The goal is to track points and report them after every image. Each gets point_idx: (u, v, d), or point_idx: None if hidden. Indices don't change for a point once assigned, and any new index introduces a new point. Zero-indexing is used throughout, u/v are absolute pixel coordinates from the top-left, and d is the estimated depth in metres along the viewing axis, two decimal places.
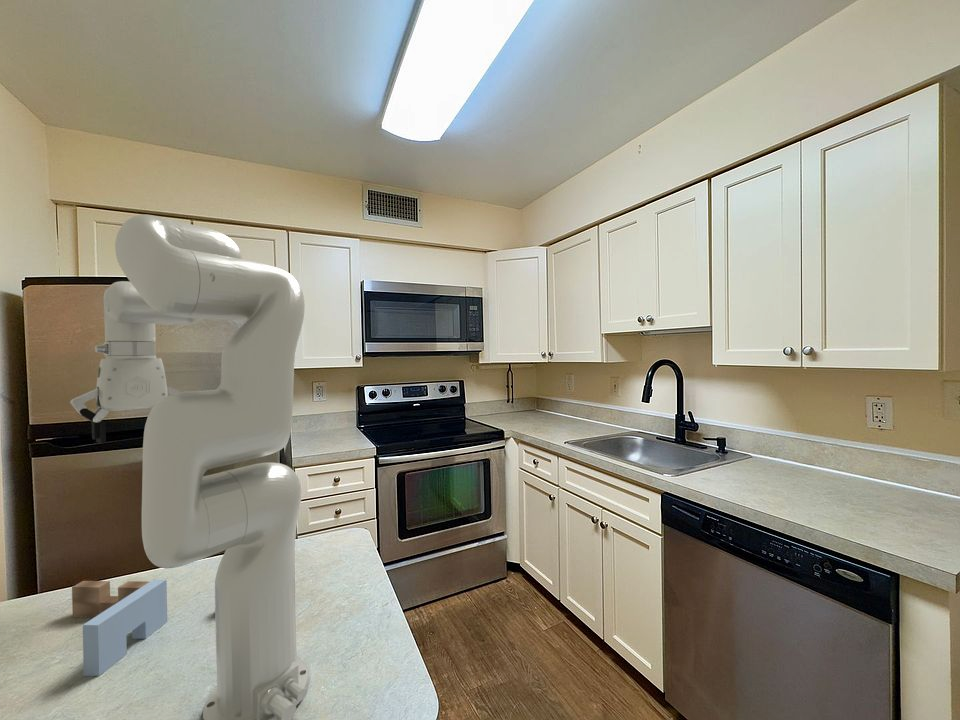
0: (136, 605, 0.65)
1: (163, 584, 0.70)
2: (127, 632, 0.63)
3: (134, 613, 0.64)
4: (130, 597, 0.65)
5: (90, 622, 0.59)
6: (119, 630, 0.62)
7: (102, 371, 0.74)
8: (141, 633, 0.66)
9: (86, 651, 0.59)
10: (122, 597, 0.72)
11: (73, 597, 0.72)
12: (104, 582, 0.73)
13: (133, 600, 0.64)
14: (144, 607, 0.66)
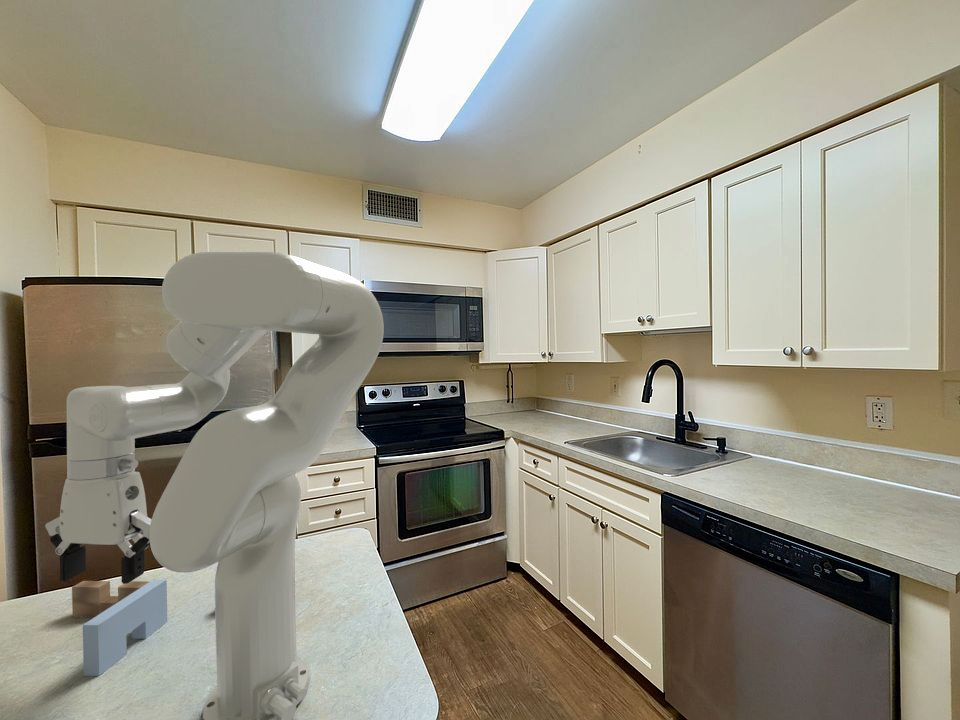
0: (136, 605, 0.65)
1: (163, 584, 0.70)
2: (127, 632, 0.63)
3: (134, 613, 0.64)
4: (130, 597, 0.65)
5: (90, 622, 0.59)
6: (119, 630, 0.62)
7: (141, 488, 0.62)
8: (141, 633, 0.66)
9: (86, 651, 0.59)
10: (122, 597, 0.72)
11: (73, 597, 0.72)
12: (104, 582, 0.73)
13: (133, 600, 0.64)
14: (144, 607, 0.66)
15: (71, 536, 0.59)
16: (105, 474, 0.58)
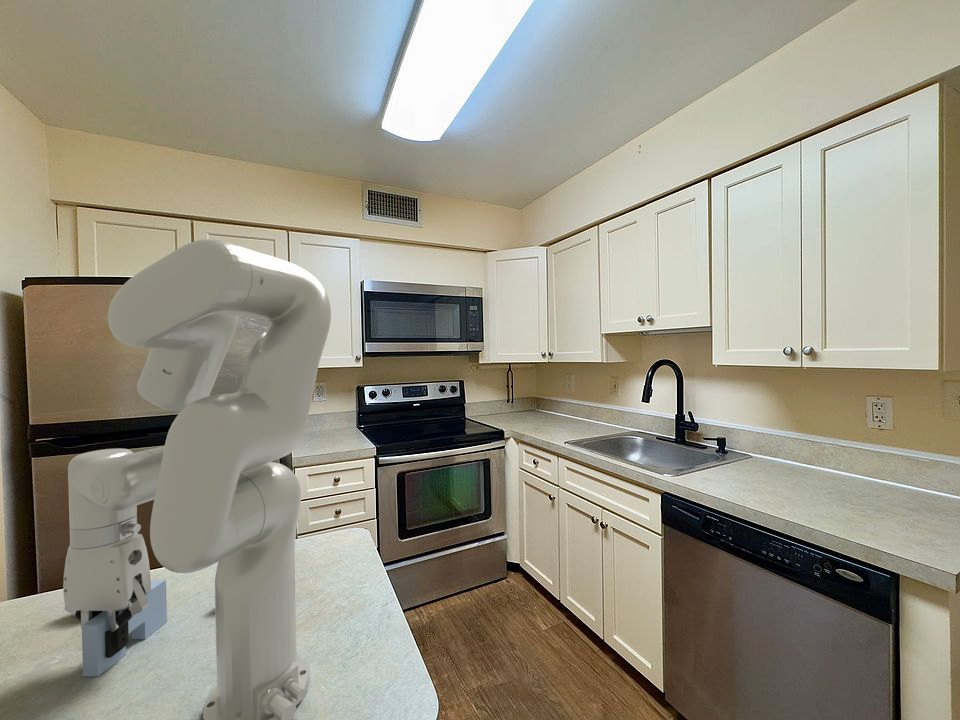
0: None
1: (163, 584, 0.70)
2: None
3: None
4: None
5: (89, 622, 0.59)
6: None
7: (144, 551, 0.62)
8: (140, 633, 0.66)
9: (86, 652, 0.58)
10: None
11: None
12: None
13: None
14: None
15: (75, 603, 0.59)
16: (108, 541, 0.58)
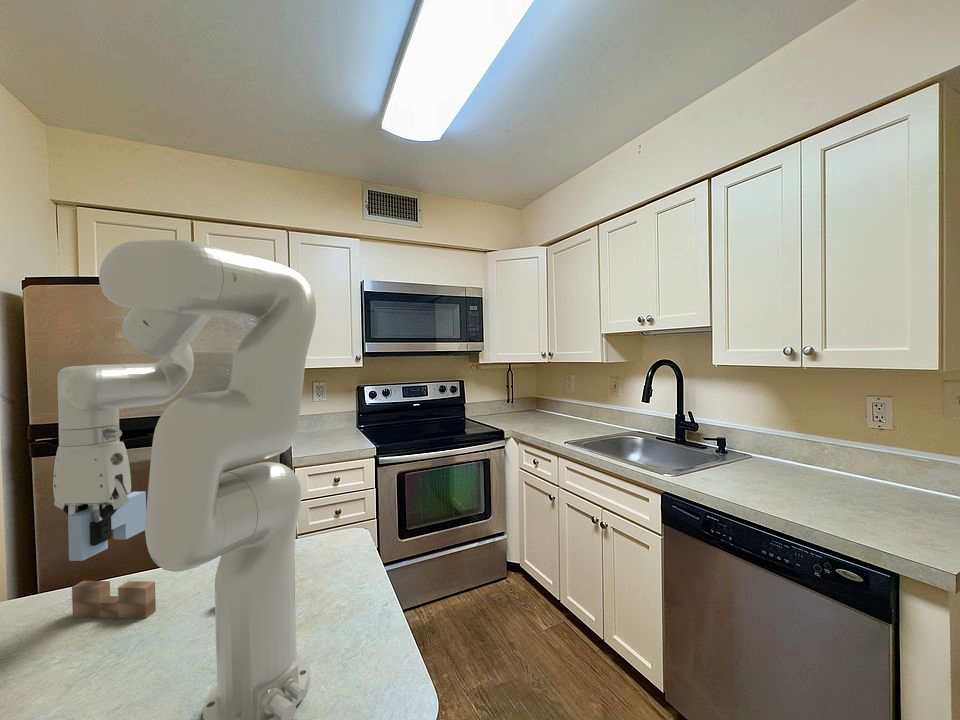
0: None
1: (142, 495, 0.78)
2: None
3: (115, 514, 0.72)
4: None
5: (75, 514, 0.67)
6: None
7: (125, 455, 0.70)
8: (122, 534, 0.74)
9: (71, 539, 0.66)
10: (122, 597, 0.72)
11: (73, 597, 0.72)
12: (104, 582, 0.73)
13: None
14: (124, 511, 0.74)
15: (63, 497, 0.67)
16: (92, 441, 0.67)
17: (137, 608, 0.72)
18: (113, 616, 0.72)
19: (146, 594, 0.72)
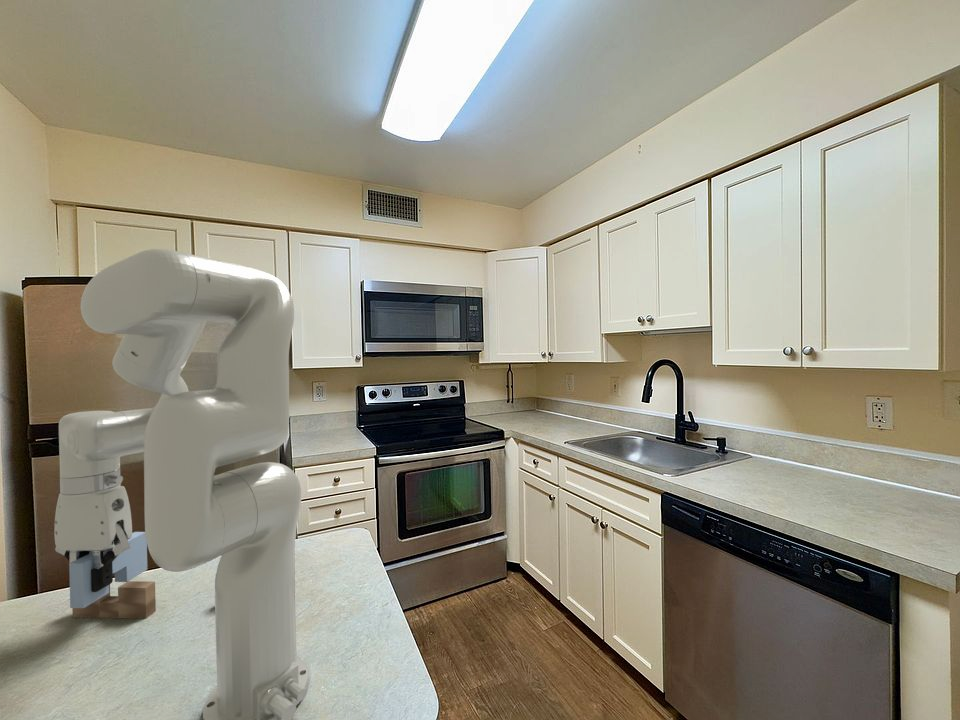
0: None
1: (143, 535, 0.78)
2: None
3: (116, 558, 0.72)
4: None
5: (76, 561, 0.67)
6: None
7: (126, 500, 0.71)
8: (123, 577, 0.74)
9: (73, 587, 0.67)
10: (122, 597, 0.72)
11: None
12: None
13: None
14: (125, 554, 0.74)
15: (64, 544, 0.67)
16: (93, 489, 0.67)
17: (137, 608, 0.72)
18: (113, 616, 0.72)
19: (146, 594, 0.72)
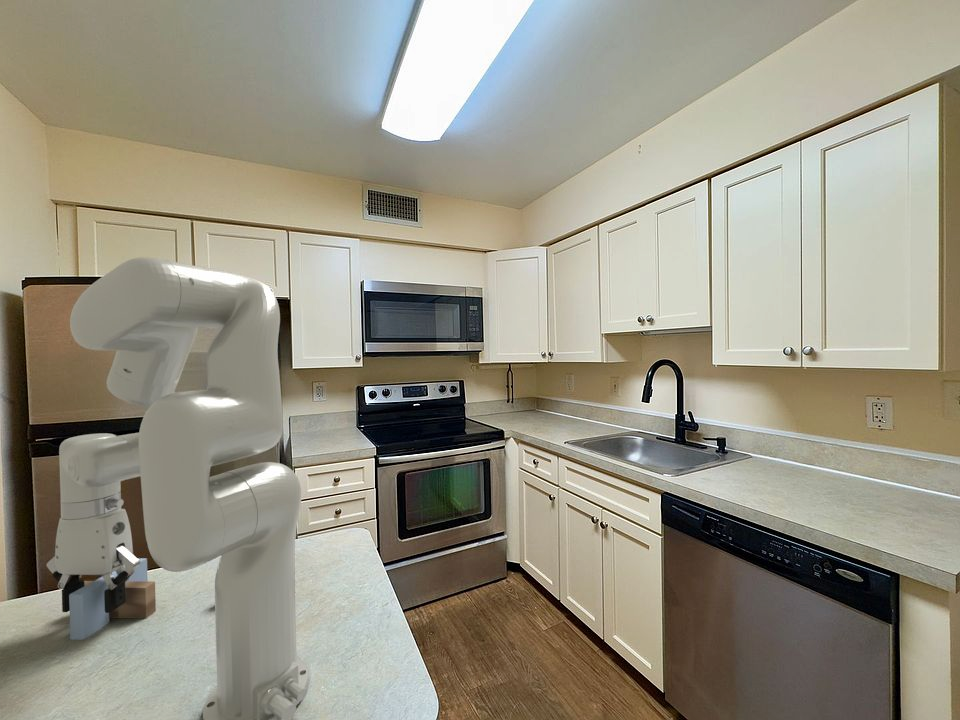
0: None
1: (144, 562, 0.78)
2: None
3: None
4: (113, 573, 0.73)
5: (76, 592, 0.67)
6: (102, 600, 0.69)
7: (127, 523, 0.71)
8: None
9: (72, 618, 0.66)
10: None
11: None
12: None
13: (115, 575, 0.72)
14: None
15: (65, 568, 0.67)
16: (94, 513, 0.67)
17: (137, 608, 0.72)
18: (113, 616, 0.72)
19: (146, 594, 0.72)
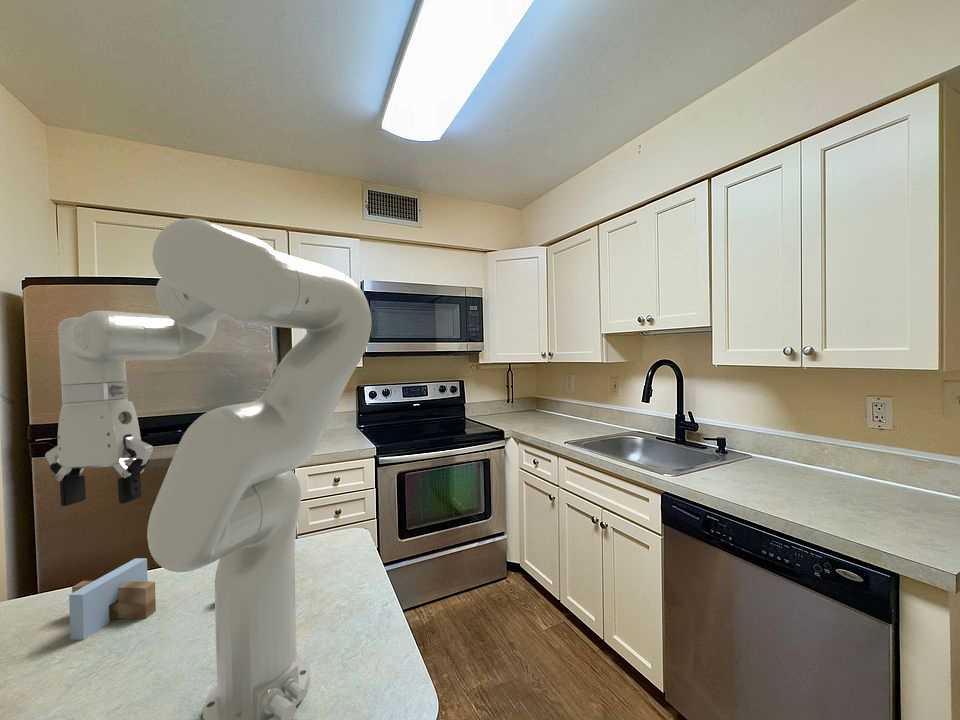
0: (118, 579, 0.72)
1: (144, 562, 0.78)
2: (110, 603, 0.71)
3: (116, 586, 0.72)
4: (113, 573, 0.73)
5: (76, 592, 0.67)
6: (102, 600, 0.69)
7: (134, 415, 0.65)
8: None
9: (72, 618, 0.66)
10: (122, 597, 0.72)
11: None
12: None
13: (115, 575, 0.72)
14: None
15: (69, 460, 0.62)
16: (98, 397, 0.61)
17: (137, 608, 0.72)
18: (113, 616, 0.72)
19: (146, 594, 0.72)
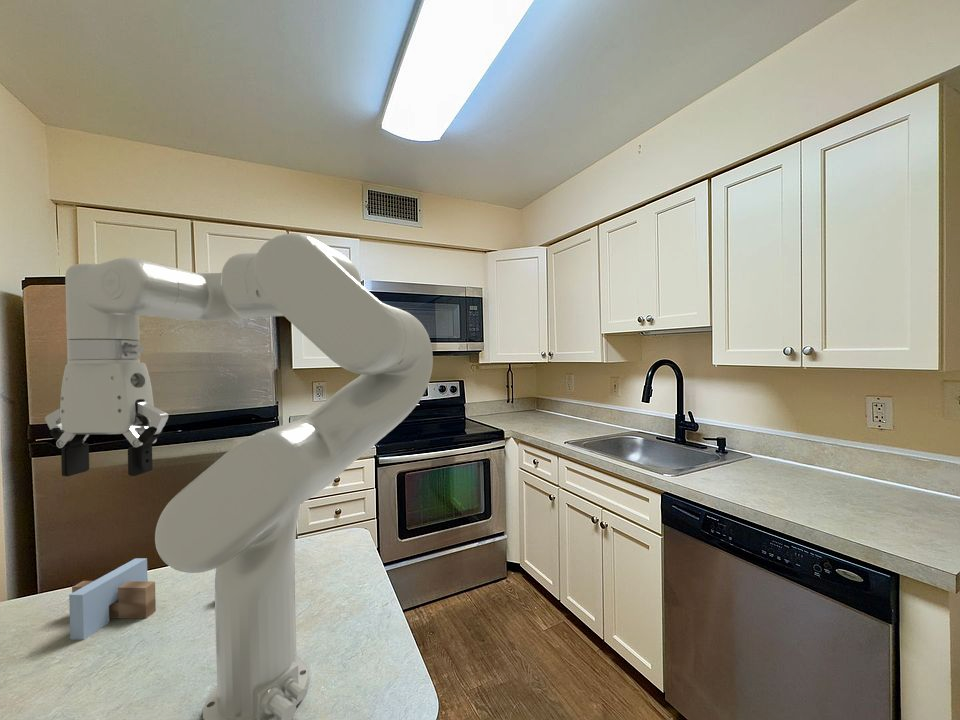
0: (118, 579, 0.72)
1: (144, 562, 0.78)
2: (110, 603, 0.71)
3: (116, 586, 0.72)
4: (113, 573, 0.73)
5: (76, 592, 0.67)
6: (102, 600, 0.69)
7: (147, 378, 0.58)
8: None
9: (72, 618, 0.66)
10: (122, 597, 0.72)
11: None
12: None
13: (115, 575, 0.72)
14: None
15: (73, 425, 0.55)
16: (108, 356, 0.54)
17: (137, 608, 0.72)
18: (113, 616, 0.72)
19: (146, 594, 0.72)
